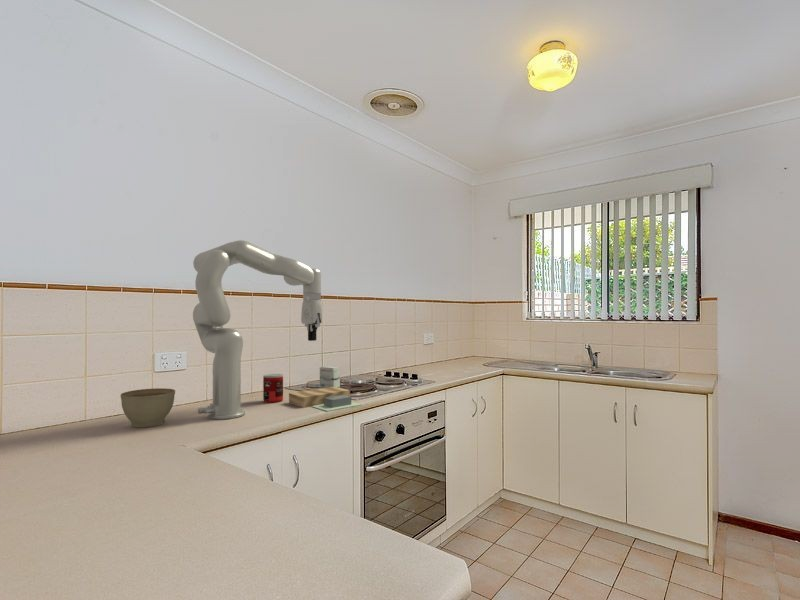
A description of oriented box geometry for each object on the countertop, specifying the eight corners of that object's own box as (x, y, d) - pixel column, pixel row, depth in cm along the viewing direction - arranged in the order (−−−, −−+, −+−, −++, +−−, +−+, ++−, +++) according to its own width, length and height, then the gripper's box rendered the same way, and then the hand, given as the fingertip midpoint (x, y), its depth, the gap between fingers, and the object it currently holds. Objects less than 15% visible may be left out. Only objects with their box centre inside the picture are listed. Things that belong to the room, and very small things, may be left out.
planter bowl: (151, 432, 140) (151, 397, 141) (108, 429, 144) (108, 395, 144) (185, 419, 156) (185, 388, 156) (145, 417, 159) (146, 387, 160)
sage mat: (327, 411, 167) (327, 410, 167) (311, 406, 175) (311, 406, 175) (361, 405, 177) (361, 404, 177) (345, 401, 186) (345, 400, 186)
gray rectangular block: (323, 397, 176) (323, 405, 176) (332, 400, 172) (332, 407, 171) (342, 394, 182) (342, 402, 182) (351, 396, 178) (351, 404, 178)
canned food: (263, 400, 189) (263, 374, 189) (282, 398, 191) (282, 373, 192) (263, 403, 182) (263, 376, 182) (283, 402, 184) (283, 375, 184)
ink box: (340, 392, 205) (340, 366, 205) (333, 394, 201) (333, 368, 201) (326, 390, 210) (326, 365, 210) (319, 392, 205) (319, 366, 206)
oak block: (303, 407, 174) (303, 397, 174) (289, 403, 183) (288, 393, 183) (349, 399, 188) (349, 390, 188) (334, 395, 197) (334, 386, 197)
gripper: (295, 298, 194) (295, 340, 194) (313, 297, 183) (313, 341, 182) (310, 298, 199) (310, 339, 199) (329, 297, 188) (329, 340, 187)
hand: (312, 340), depth 190 cm, fingers closed
